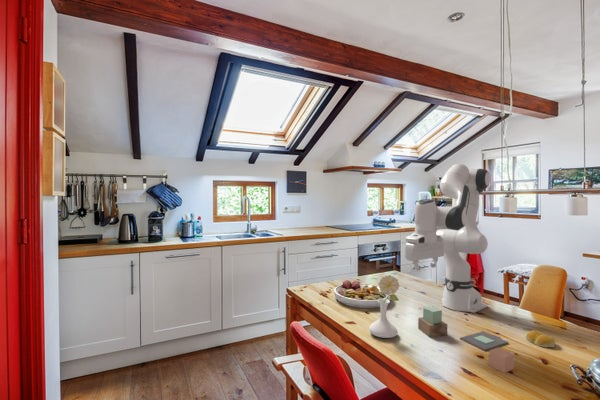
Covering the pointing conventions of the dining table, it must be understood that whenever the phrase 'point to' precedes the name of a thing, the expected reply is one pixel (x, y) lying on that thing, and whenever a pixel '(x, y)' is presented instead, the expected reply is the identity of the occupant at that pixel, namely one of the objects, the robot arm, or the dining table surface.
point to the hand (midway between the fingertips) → (425, 268)
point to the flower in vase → (385, 308)
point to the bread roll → (540, 339)
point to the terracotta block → (501, 359)
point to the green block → (432, 315)
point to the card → (484, 341)
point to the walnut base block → (432, 328)
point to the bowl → (359, 294)
